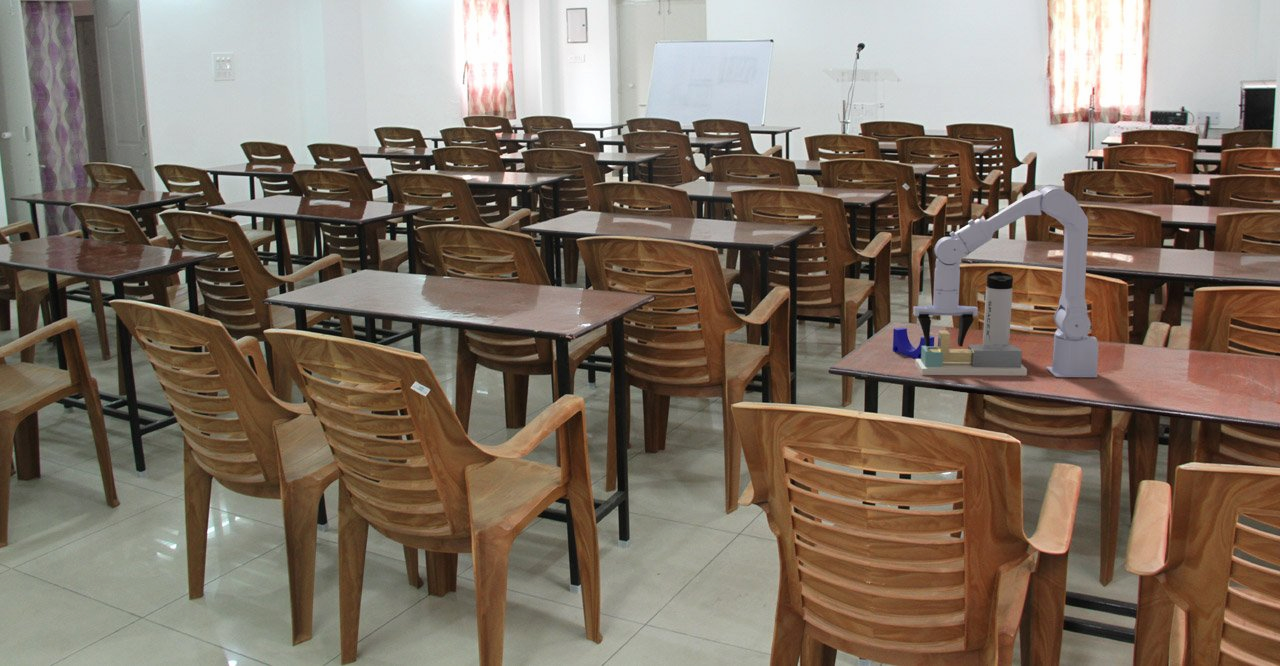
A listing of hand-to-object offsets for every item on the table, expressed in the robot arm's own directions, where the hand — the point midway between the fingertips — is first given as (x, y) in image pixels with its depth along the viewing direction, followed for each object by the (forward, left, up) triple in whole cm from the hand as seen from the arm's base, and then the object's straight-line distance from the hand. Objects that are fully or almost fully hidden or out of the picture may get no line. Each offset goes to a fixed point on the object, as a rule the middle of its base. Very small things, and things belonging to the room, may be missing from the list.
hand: (943, 345), depth 264 cm
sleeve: (-12, 0, -5) cm, 13 cm away
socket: (+3, 0, -5) cm, 5 cm away
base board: (-6, 0, -6) cm, 9 cm away
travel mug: (-16, -18, -6) cm, 25 cm away
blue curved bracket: (+4, -14, -6) cm, 16 cm away
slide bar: (-4, 0, -4) cm, 5 cm away
